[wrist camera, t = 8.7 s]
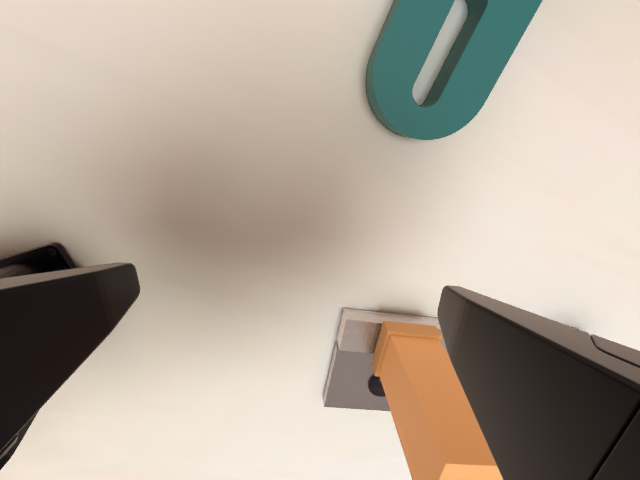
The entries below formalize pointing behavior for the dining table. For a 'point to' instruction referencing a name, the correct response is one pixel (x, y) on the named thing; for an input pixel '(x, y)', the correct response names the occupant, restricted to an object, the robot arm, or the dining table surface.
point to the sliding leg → (430, 406)
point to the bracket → (458, 70)
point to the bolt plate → (353, 382)
